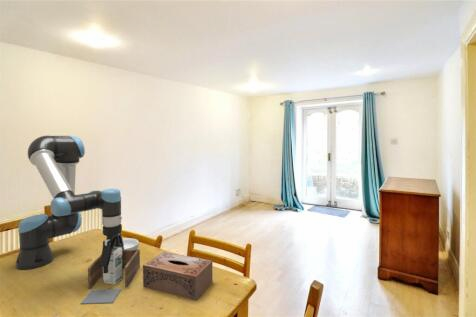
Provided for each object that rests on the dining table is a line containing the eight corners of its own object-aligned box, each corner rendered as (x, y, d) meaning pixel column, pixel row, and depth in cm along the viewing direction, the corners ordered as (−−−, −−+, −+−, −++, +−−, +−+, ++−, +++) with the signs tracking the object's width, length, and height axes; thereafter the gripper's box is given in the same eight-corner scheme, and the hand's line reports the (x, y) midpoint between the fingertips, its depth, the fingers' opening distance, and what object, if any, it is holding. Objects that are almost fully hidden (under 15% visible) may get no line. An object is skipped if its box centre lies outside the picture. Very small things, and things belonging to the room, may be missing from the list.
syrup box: (115, 284, 114) (114, 252, 113) (103, 283, 115) (102, 251, 114) (123, 278, 120) (122, 247, 118) (112, 276, 121) (111, 245, 120)
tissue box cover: (212, 282, 117) (212, 260, 116) (196, 301, 104) (196, 276, 103) (163, 271, 126) (163, 251, 125) (143, 287, 113) (142, 265, 112)
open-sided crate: (88, 288, 111) (87, 268, 110) (106, 267, 129) (105, 250, 128) (127, 287, 112) (127, 267, 111) (139, 267, 130) (139, 249, 129)
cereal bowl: (145, 254, 144) (145, 241, 144) (117, 266, 130) (117, 252, 130) (126, 247, 153) (126, 235, 153) (98, 258, 139) (97, 245, 139)
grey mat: (80, 304, 100) (80, 303, 100) (91, 290, 109) (91, 289, 109) (112, 303, 101) (112, 302, 101) (121, 289, 110) (121, 288, 110)
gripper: (109, 234, 103) (110, 286, 105) (130, 216, 128) (131, 258, 130) (89, 235, 103) (91, 287, 104) (114, 216, 128) (115, 258, 129)
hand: (113, 271), depth 117 cm, fingers open, 13 cm apart
